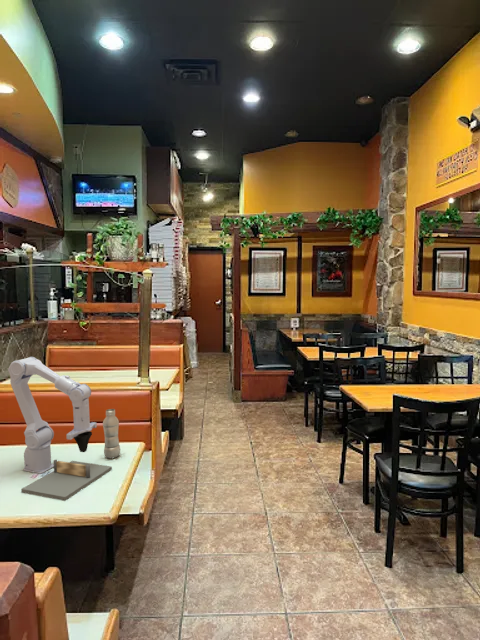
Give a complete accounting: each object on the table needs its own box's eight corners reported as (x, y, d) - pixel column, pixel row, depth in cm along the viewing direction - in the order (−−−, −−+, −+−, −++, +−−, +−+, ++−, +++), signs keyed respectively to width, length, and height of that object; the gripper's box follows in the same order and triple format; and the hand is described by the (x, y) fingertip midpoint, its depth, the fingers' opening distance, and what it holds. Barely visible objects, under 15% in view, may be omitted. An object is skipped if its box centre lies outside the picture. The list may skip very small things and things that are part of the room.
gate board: (21, 492, 146) (20, 476, 145) (72, 463, 169) (71, 449, 169) (65, 500, 139) (64, 483, 139) (111, 469, 163) (111, 455, 162)
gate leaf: (56, 472, 158) (56, 461, 158) (58, 471, 159) (58, 460, 158) (84, 476, 154) (84, 466, 153) (86, 475, 154) (86, 465, 154)
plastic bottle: (124, 455, 176) (122, 409, 175) (111, 461, 171) (109, 413, 169) (113, 452, 180) (111, 407, 178) (100, 458, 174) (98, 411, 172)
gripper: (76, 423, 152) (78, 460, 153) (102, 412, 166) (103, 445, 167) (61, 421, 154) (63, 457, 155) (87, 410, 168) (89, 443, 169)
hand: (83, 451), depth 161 cm, fingers closed
